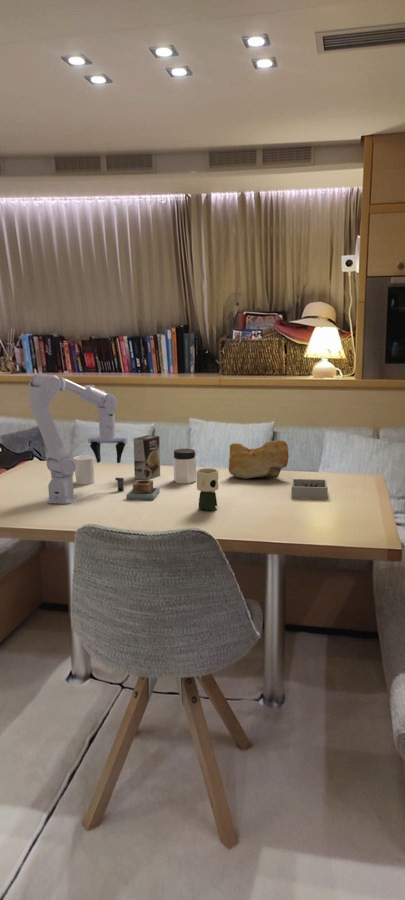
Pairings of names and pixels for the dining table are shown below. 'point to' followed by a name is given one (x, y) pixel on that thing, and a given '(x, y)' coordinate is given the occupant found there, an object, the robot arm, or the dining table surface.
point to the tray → (143, 495)
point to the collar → (143, 487)
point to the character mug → (207, 488)
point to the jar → (184, 466)
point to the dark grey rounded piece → (120, 484)
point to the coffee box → (146, 457)
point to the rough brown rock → (258, 460)
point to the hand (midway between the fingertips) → (108, 462)
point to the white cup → (84, 469)
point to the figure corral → (309, 489)
